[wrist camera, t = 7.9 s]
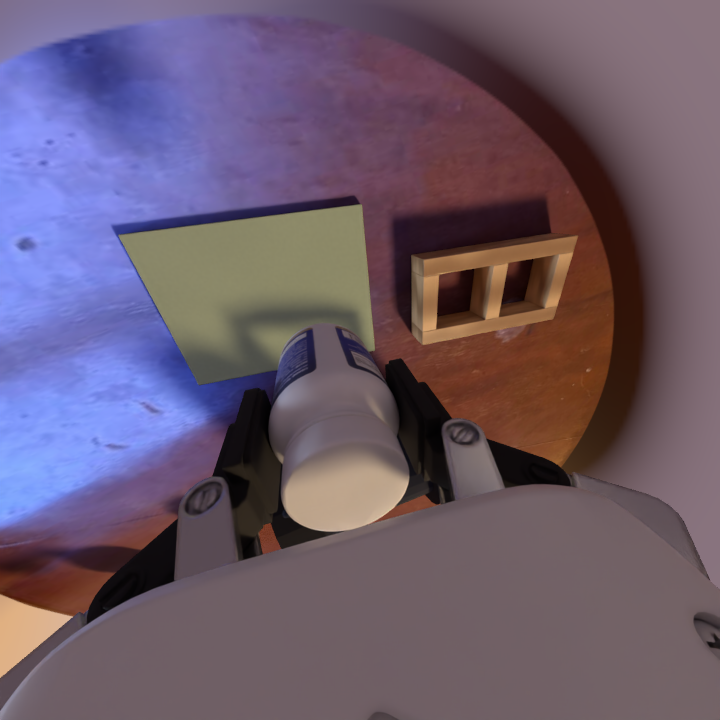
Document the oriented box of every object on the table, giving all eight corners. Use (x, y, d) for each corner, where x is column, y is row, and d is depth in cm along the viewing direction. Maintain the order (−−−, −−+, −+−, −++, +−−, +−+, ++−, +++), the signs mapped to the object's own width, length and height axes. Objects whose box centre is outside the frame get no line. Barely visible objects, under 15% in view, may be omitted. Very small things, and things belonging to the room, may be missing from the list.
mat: (121, 234, 21) (117, 234, 20) (360, 204, 23) (361, 203, 23) (200, 382, 29) (198, 385, 28) (373, 348, 31) (375, 350, 30)
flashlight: (299, 482, 40) (237, 383, 29) (421, 432, 42) (406, 324, 32) (310, 601, 28) (210, 506, 17) (481, 521, 30) (488, 394, 19)
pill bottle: (288, 405, 16) (274, 560, 9) (271, 327, 14) (229, 442, 6) (370, 392, 17) (425, 524, 9) (366, 316, 15) (435, 407, 7)
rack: (411, 254, 26) (423, 259, 24) (551, 232, 28) (578, 235, 26) (411, 333, 31) (422, 345, 28) (532, 310, 33) (553, 319, 30)
